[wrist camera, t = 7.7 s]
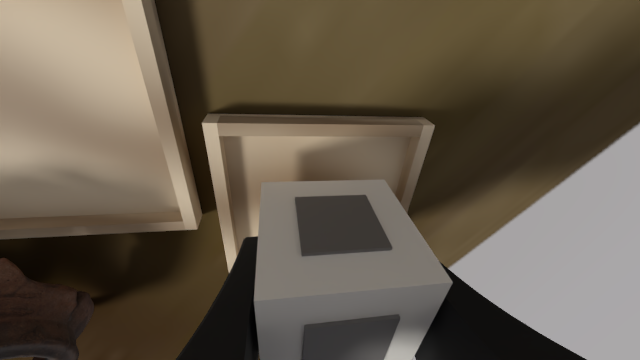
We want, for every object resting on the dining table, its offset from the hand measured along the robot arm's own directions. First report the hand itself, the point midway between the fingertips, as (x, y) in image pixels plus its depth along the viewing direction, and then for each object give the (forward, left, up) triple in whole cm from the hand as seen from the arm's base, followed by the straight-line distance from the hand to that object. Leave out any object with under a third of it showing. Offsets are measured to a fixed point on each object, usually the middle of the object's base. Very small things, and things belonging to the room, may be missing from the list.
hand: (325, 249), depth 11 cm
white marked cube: (0, 0, -1) cm, 1 cm away
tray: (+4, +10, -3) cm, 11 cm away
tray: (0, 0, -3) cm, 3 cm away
